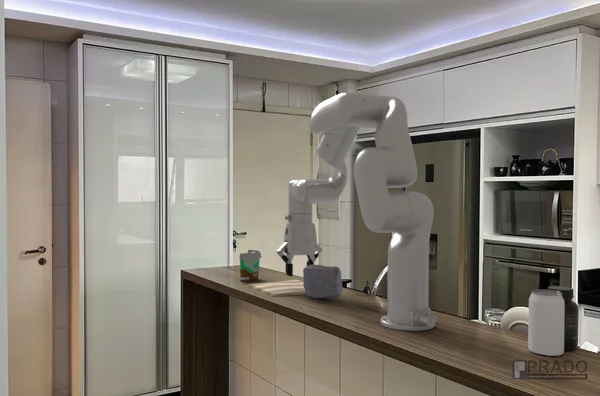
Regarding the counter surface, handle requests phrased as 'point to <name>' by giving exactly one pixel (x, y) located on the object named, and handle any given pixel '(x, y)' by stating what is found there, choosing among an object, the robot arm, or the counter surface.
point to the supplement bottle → (569, 317)
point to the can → (546, 322)
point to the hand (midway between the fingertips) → (299, 274)
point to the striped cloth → (280, 288)
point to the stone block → (322, 281)
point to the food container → (249, 265)
